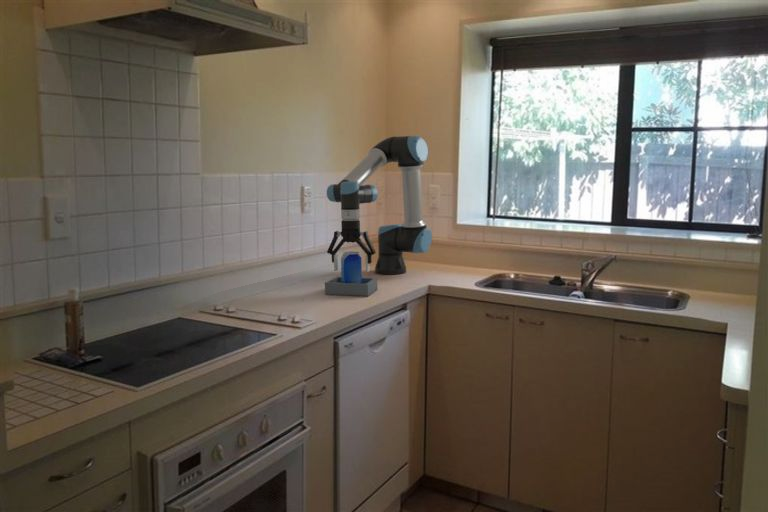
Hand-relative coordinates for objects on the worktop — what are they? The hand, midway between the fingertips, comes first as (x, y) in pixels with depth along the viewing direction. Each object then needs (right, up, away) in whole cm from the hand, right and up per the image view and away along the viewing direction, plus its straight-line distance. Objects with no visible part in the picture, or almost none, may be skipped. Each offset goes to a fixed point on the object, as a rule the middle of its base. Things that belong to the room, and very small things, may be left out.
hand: (351, 270), depth 271 cm
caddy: (0, -9, +1) cm, 9 cm away
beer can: (0, -8, +1) cm, 9 cm away
